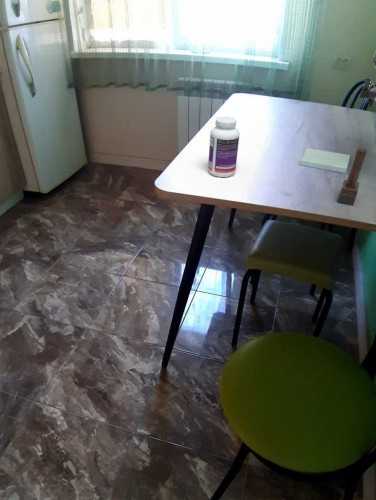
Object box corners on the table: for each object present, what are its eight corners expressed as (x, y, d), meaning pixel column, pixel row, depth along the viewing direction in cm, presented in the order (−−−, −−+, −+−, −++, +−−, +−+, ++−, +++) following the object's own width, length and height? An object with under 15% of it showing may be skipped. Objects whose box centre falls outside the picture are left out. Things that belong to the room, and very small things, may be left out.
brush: (339, 193, 113) (354, 144, 104) (354, 196, 112) (371, 147, 103) (337, 202, 109) (352, 152, 100) (352, 205, 108) (369, 154, 99)
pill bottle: (240, 173, 121) (247, 119, 111) (224, 180, 116) (229, 126, 106) (218, 165, 124) (223, 113, 114) (202, 172, 120) (205, 119, 110)
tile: (349, 159, 132) (350, 155, 131) (345, 173, 124) (347, 168, 123) (305, 152, 135) (306, 147, 134) (299, 165, 127) (300, 160, 126)
